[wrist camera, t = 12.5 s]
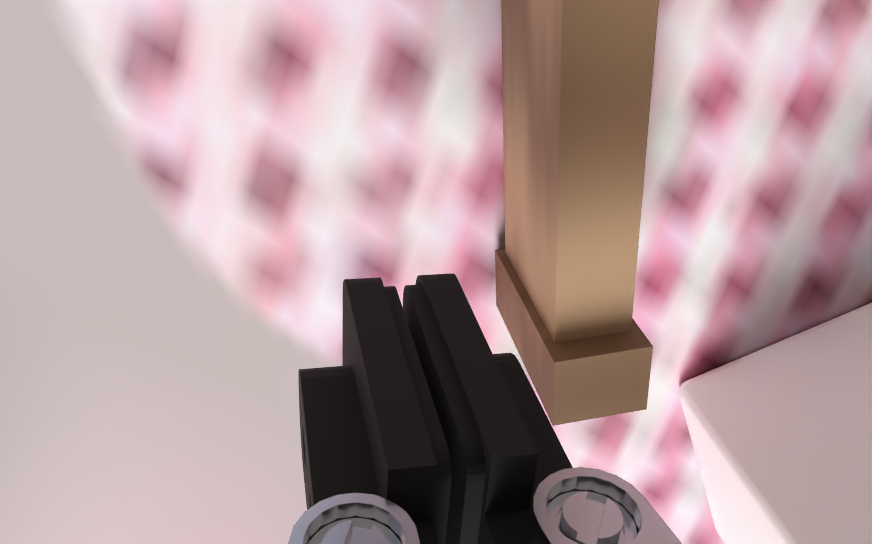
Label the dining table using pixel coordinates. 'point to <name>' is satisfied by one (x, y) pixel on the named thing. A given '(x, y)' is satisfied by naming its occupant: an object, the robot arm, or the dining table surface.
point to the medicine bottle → (789, 437)
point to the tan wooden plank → (576, 198)
